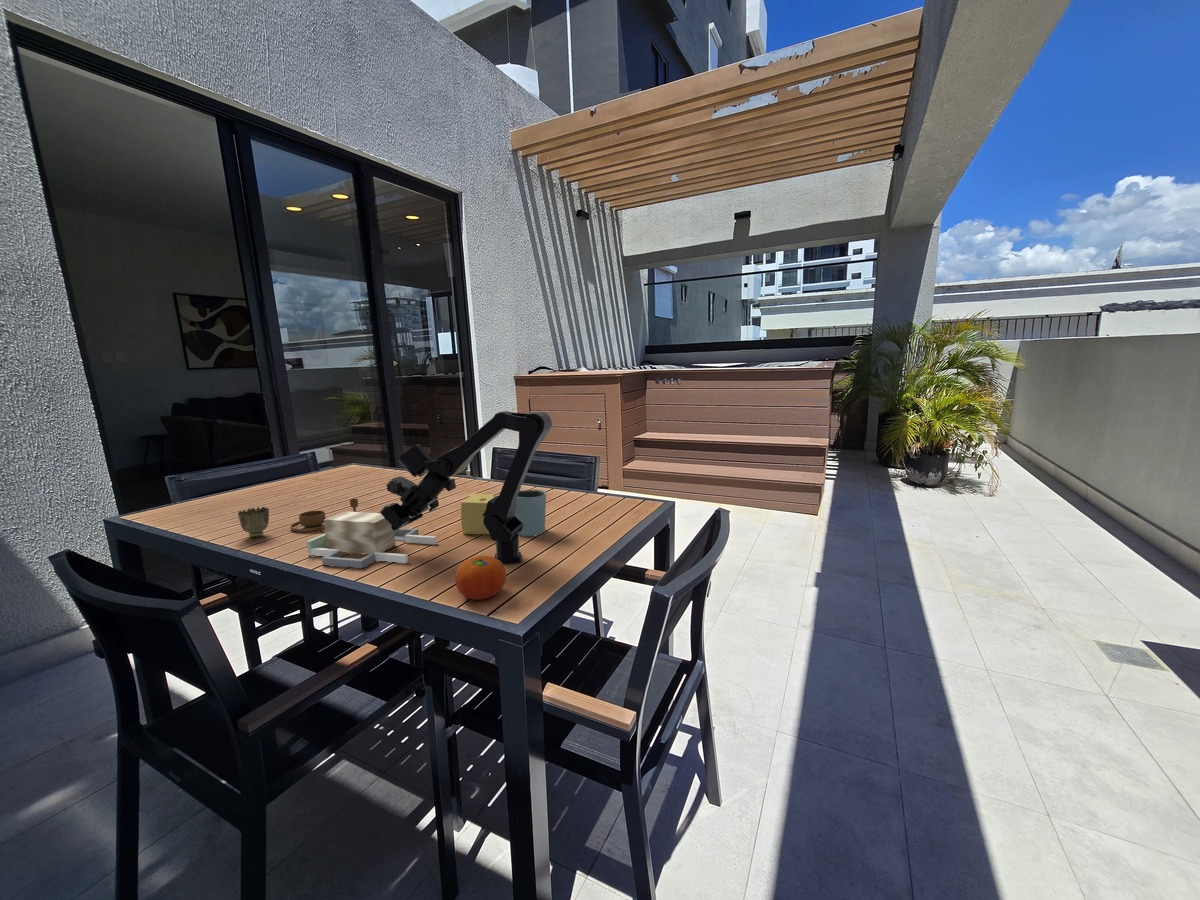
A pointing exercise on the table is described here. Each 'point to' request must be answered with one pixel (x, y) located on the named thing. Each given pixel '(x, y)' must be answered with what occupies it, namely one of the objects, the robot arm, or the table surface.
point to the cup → (254, 521)
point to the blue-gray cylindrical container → (531, 511)
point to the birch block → (358, 532)
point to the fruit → (480, 577)
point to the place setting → (316, 519)
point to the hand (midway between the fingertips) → (393, 528)
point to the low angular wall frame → (334, 555)
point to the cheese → (474, 513)
